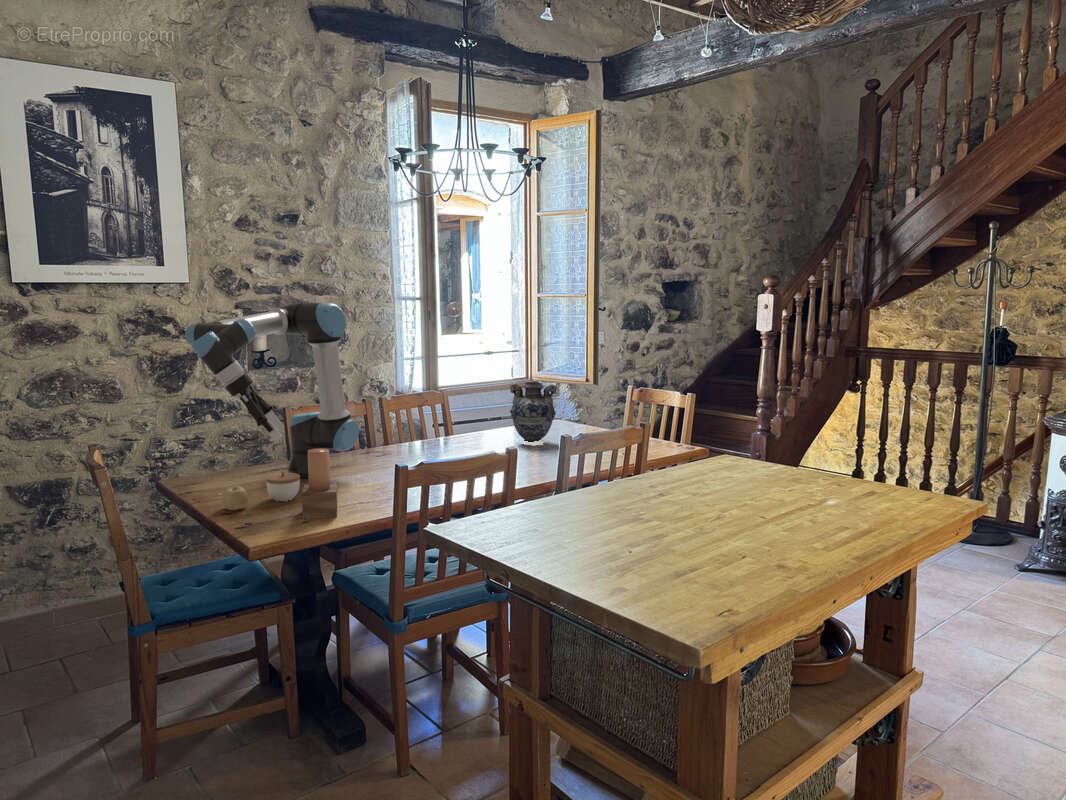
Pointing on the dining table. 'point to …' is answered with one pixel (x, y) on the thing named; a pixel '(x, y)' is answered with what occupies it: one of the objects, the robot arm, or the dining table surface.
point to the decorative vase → (532, 410)
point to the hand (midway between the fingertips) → (280, 434)
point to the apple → (235, 498)
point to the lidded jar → (283, 485)
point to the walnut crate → (319, 502)
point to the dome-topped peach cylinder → (319, 469)
